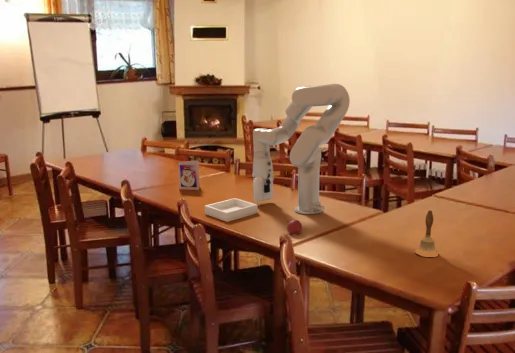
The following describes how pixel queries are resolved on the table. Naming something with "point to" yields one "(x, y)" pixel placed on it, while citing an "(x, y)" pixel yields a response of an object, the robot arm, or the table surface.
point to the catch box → (231, 209)
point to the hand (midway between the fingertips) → (263, 191)
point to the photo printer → (261, 190)
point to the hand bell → (428, 235)
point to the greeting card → (189, 175)
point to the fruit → (294, 227)
